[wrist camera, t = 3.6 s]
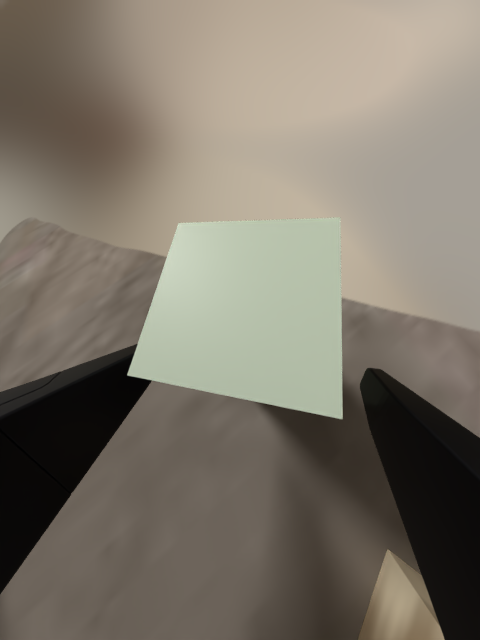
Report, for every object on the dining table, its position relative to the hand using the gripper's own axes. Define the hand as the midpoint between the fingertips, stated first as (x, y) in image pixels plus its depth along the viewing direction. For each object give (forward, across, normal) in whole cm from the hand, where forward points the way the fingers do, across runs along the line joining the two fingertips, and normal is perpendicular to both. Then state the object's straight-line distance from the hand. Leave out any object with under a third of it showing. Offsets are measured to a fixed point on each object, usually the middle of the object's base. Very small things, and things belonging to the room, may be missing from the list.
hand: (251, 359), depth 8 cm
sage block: (+7, 0, +6) cm, 9 cm away
